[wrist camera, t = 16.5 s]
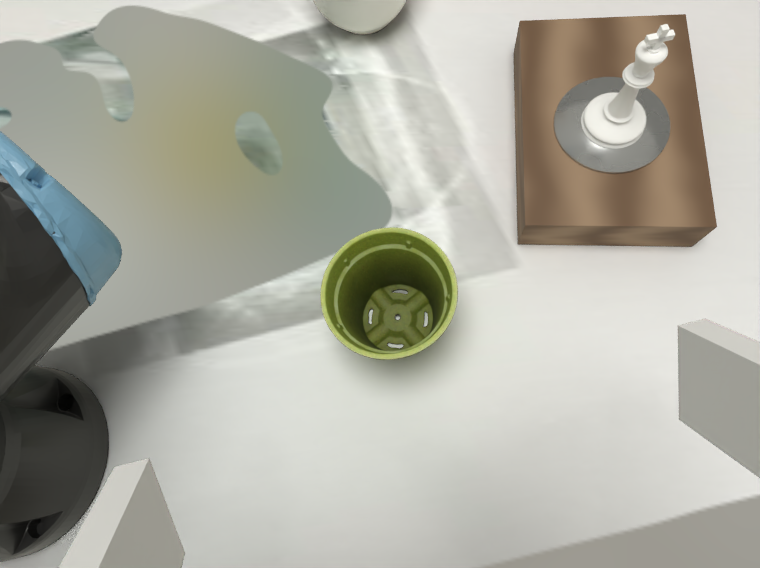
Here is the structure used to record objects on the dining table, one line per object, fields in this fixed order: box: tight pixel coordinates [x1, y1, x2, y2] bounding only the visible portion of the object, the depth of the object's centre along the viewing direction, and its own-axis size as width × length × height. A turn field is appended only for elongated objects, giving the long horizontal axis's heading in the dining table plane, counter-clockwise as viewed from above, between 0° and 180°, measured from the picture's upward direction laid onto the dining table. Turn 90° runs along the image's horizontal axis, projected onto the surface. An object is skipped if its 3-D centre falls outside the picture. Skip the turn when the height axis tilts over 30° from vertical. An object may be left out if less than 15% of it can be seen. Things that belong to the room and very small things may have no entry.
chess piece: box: [581, 24, 675, 149], centre depth 37 cm, size 5×5×10 cm
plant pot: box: [321, 228, 458, 360], centre depth 39 cm, size 9×9×9 cm
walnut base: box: [514, 14, 717, 247], centre depth 44 cm, size 14×20×4 cm
